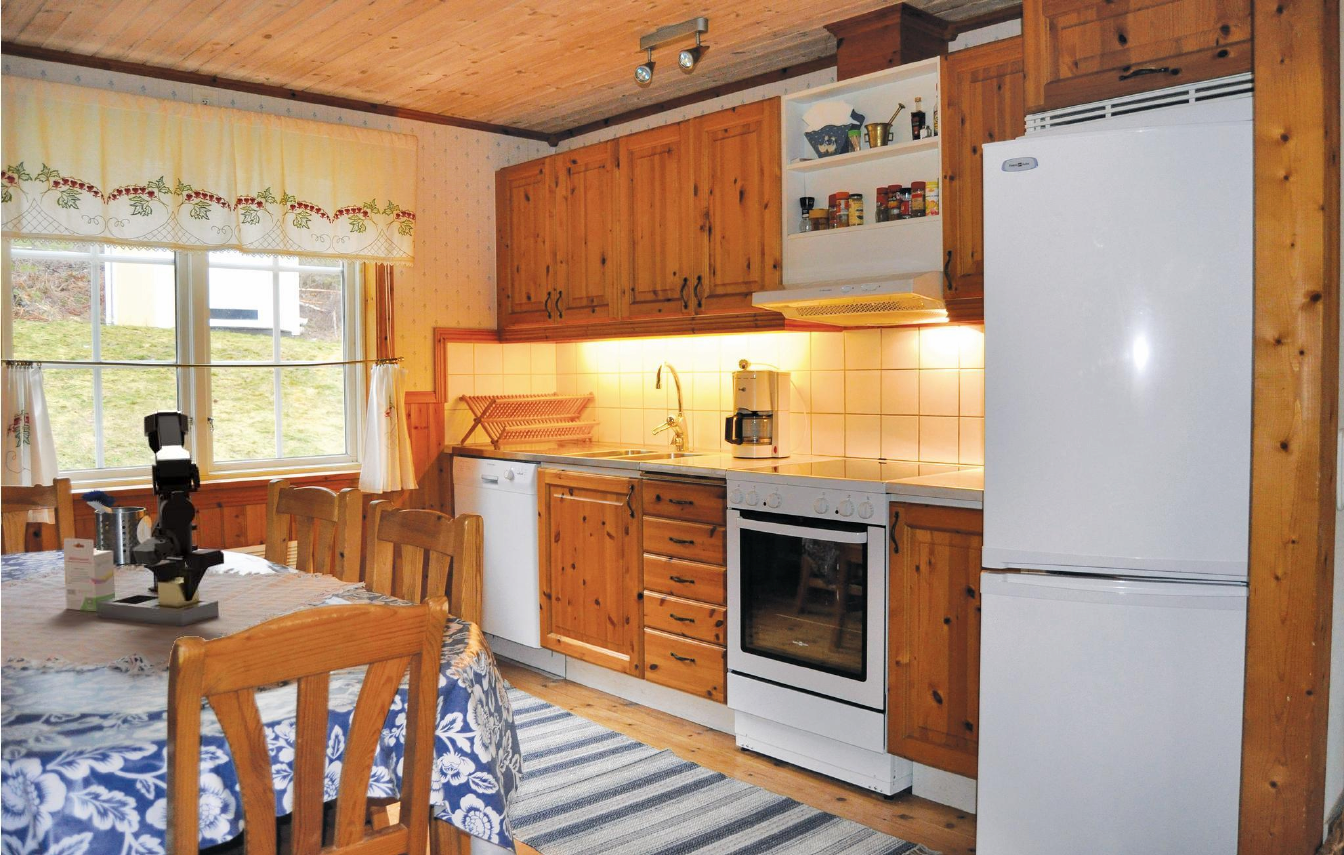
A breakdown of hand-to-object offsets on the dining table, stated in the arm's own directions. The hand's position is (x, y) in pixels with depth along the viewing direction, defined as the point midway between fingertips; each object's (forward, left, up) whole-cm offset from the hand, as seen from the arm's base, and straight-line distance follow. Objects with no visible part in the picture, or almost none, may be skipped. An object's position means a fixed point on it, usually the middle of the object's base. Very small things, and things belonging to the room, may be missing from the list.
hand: (178, 599), depth 198 cm
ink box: (-25, +1, -4) cm, 25 cm away
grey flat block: (-5, 0, -4) cm, 7 cm away
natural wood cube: (0, 0, -1) cm, 1 cm away
